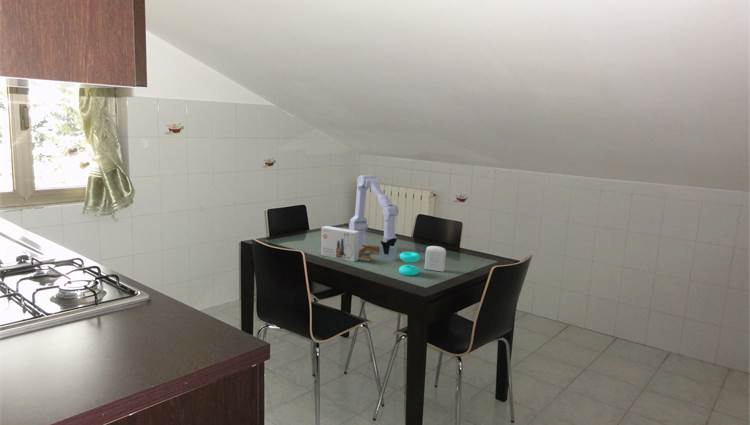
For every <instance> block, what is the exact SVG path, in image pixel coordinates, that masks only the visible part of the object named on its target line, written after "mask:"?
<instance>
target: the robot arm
mask: <svg viewBox="0 0 750 425" xmlns="http://www.w3.org/2000/svg"><path fill="white" fill-rule="evenodd" d="M368 189H371V190H372V192H373V193H374V194H375V196H376V197H377V202H378V204H379V206H380V207H381V208H382V215H383V219H384V220H383V221H384V224H383V226H384V227H383V228H384V229H383V238H382V240H380V244H381V245H382V246H383V251H384V254H387V255H388V253H389V248H390V246H395V244H396V242H397V240H398V238H397V236H396V218H397V217H396V216H398V214H399V209H398V206H397V205H395V204H394V203H392V200H390V198H389V196H388V195H387V194H384V192H383V190H382V189H381V186H380V184H379V179H378V177H377V175H376V174H363V175H362V174H361V175H359V176H358V177H357V179H356V197H355V207H354V208H355V211H354V215H353V217H351V218H350V220H349V224H348V229H349V230H355V231H359V249H360V248H362V247H363V245H367V244H366V242H367V234H366V232H367V231H368V228H369V227H368V219H367V218H366V217H365V213H366V212H365V209H366V197H367V190H368Z"/></svg>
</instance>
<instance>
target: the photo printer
mask: <svg viewBox="0 0 750 425" xmlns="http://www.w3.org/2000/svg"><path fill="white" fill-rule="evenodd" d="M446 257H447V251H446V248H445V247H442V246H438V245H429V246H426V249H425V257H424V258H425V259H424V269H425V270H429V271H436V272H440V273H441V272H443V273H444V272H445V270H446Z"/></svg>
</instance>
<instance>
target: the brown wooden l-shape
mask: <svg viewBox="0 0 750 425" xmlns="http://www.w3.org/2000/svg"><path fill="white" fill-rule="evenodd" d="M379 250H380V246H377V245H369V244H366V245H363V247H362V248H360V249H359V257H361V253H362V252H365V251H370V253H369V254H372V255H373V254H375V255H379Z"/></svg>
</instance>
